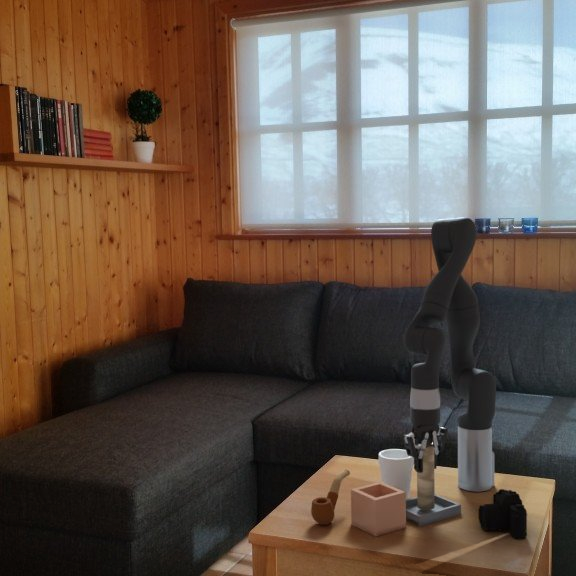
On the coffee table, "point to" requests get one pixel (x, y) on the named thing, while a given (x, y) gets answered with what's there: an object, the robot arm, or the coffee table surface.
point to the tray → (431, 511)
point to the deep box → (378, 508)
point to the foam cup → (396, 469)
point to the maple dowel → (426, 481)
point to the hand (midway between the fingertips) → (425, 469)
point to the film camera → (505, 514)
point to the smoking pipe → (327, 502)
